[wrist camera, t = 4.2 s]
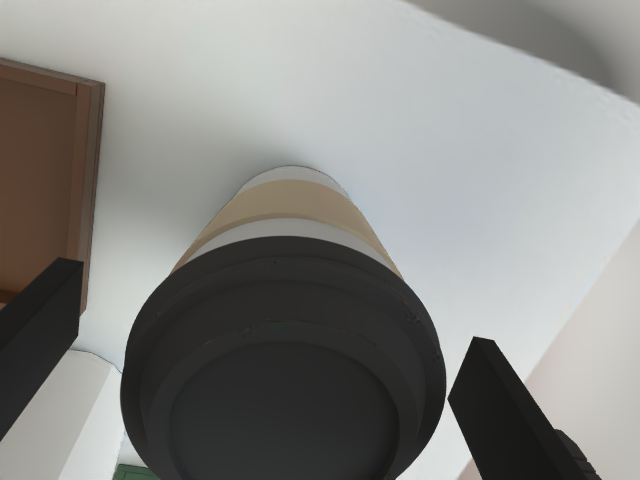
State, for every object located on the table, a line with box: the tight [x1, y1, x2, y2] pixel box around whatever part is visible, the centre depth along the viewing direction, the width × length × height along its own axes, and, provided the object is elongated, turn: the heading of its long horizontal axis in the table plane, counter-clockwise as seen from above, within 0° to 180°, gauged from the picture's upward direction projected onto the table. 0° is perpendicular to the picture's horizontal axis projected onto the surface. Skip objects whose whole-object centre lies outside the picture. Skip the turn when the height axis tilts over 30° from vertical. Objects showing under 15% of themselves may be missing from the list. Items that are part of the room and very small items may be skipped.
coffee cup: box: [120, 166, 446, 480], centre depth 19 cm, size 9×9×15 cm
